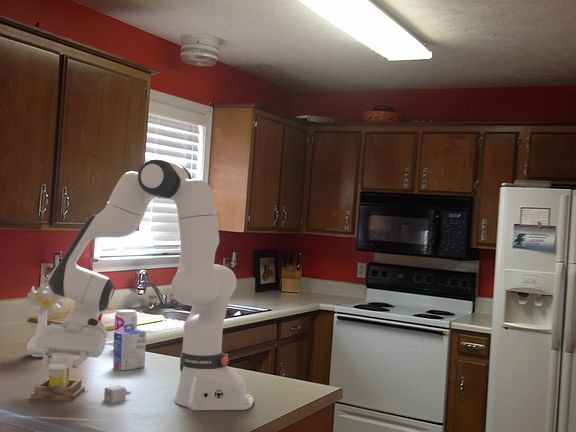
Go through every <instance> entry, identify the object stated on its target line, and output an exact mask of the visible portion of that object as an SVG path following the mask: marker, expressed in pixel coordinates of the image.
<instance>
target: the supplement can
mask: <svg viewBox="0 0 576 432" xmlns="http://www.w3.org/2000/svg"><path fill="white" fill-rule="evenodd" d="M129 324H133V327H134V330H138V312H137V310H135V309H129V308H128V309H127V308H125V309H117V310H116V312H115V314H114V332H113V334H114V333H117V332H125V330H124V325H129ZM126 329H132V327H130V326H128V327H126Z"/></svg>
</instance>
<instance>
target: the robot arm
mask: <svg viewBox="0 0 576 432" xmlns="http://www.w3.org/2000/svg"><path fill="white" fill-rule="evenodd" d="M116 183H117V184H116V185H115V186H114V188H113V190H112V192H111V193H110V197H109V199H108V201H107V203H106V205H105V207H104V208H103V209H102V210H101V212H99V213H98V214H92V215H91V216H90V217H88V219H87V220H86V221H85V223H84V224H83V225H82V227H81V228H80V230H79V231H78V232H77V235H76V236H75V238H74V239H73V241H72V242H71V244H70V246H69V247H68V249H67V250H66V252H65V253H64V255H63V257H62V258H61V260H59V262H58V264H57V265H56V266H55V267H54V269H53V270H52V271H51V273H50V275H49V278H48V281H47V282H48V286H49V287H50V288H51V290H52V292H53V293H54V294H55V295H59V296H62V297H64V298H67V299H68V298H69V299H71V300H74V302H73V306H72V308H70V309H71V310H70V311H69V310H68V312H69V313H68V314H67V315H66V317H65V319H64V321H63V323H54V322H53V323H51V324H47V326H45V328H44V330H43V331H42V332H41V334H40V335H39V337H38V338H37V340H36V341H35V346H36V348H37V349H38V351H39V352H43V356H44V357H42V359H41V364H42V365H43V366H50V364H51V362H52V359H50V357H49V356H48V355H50V356H51V354H55V355H67V356H68V355H69V356H77V357H78V356H79V357H78V358H77V359H74V360H73V361H72V362H71V367H72V368H73V369H79V368H80V366H81V364H83V363H84V362H86V360H88V357H89V358H99V357H100V356H102V355H103V352H104V350H105V347H106V343H107V340H106V339H107V338H108V335H109V334H108V330H107V328H106V327H105V325H104V323H103V321H102V320H101V321H99V320H98V316H99V315H100V314H101V313H102V314H103V311H105V310H107V309H108V306H109V304H110V302H111V300H112V298H113V296H114V294H115V290H116V289H115V285H114V283H113V280H112V279H111V278H109V277H107V276H105V275H103V274H100V273H98V272H95V271H92V270H89V269H88V268H84V267H81V266H79V265H78V264H77V262H78V261H79V258H80V257H81V256H82V254H83V252H84V251H85V249H86V248H87V246H88V244H90V242H91V241H92V240H94V239H97V238H98V239H99V238H123V237H127V236H131V235H132V234H134V233H135V232H137V230H138V228H139V227H140V224H141V223H142V221H143V218H144V216H145V213H146V211H147V208H148V206H149V204H150V202H152V201H153V200H154V199H156V198H158V199H165V200H172V201H173V202H174V203H175V206H176V211H177V220H178V221H177V222H178V230H179V231H178V232H179V240H180V241H179V242H180V254H179V261H178V267H177V271H176V274H174V276H173V279H172V280H171V285H170V287H171V293H172V296H173V297H174V299H175V300H176V301H177V302H178V303H180V304H181V305H186V306H191V309H190V312H189V315H188V317H187V318H186V320H185V321H184V324H183V335H182V338H183V339H182V350H181V352H180V356H179V357H180V358H179V359H180V360H179V371H180V376H179V381H178V387H177V390H176V394H175V397H174V401H173V402H175V403H176V404H178V405H179V406H183V407H186V408H187V409H190V410H192V411H246V410H249V409H251V408H252V407H253V405H254V398H253V396H252V395H251V394H249V393H247V387H246V383H245V380H244V378H242V377H241V375H239V374H238V373H237V372H235V371H234V370H233V369H232V368H231V367H229V366H228V365H229V361H230V360H229V355H228V353H224V352H223V351H222V345H223V331H224V329H223V328H224V323H225V318H226V314H227V311H228V307H229V303H230V299H231V296H232V295H233V293H234V292H235V290H236V288H237V278H236V274H235V272H234V271H233V270H232V269H231V268H229V267H227V266H225V265H221V264H218V263H217V264H215V257H216V256H215V255H216V252H217V249H218V246H219V244H220V232H219V224H218V217H217V209H216V203H215V199H214V195H213V192H212V189H211V186H210V185H209V183H207V181H205V180H203V179H199V178H192V175H191V174H190V172H189V170H188V169H187V168H186V167H184V166H182V165H180V164H178V163H176V162H174V161H172V160H169V159H163V158H158V157H157V158H152V159H148V160H146V161H144V162H143V163H142V165H141V166H140V167H139V169H138V171H128V172H126V173H124V174H123V175H121V177H120V178H119V180H118V181H117V182H116Z"/></svg>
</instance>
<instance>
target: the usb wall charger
mask: <svg viewBox="0 0 576 432" xmlns="http://www.w3.org/2000/svg"><path fill="white" fill-rule="evenodd" d="M103 392H104V395H103V396H104V397H103V400H104V401H105V402H108V403H111V404H113V403H119V402H124V401H126V400H127V399H126V396H127V395H128V396H129V395H132V391H131V390H130V391H128V389H126V387H125V386H122V385H114V386H109V387H105V388H104V391H103Z"/></svg>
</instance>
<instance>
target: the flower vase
mask: <svg viewBox="0 0 576 432" xmlns="http://www.w3.org/2000/svg"><path fill="white" fill-rule="evenodd" d="M64 300H65V297H63V296H59V295H55V294H54V293H53V292H52V290H51V288H50V286H49V287H46V285H45V284H43V283H41V284H40V286H39V287H37V289H36V290H35V287H34V285H32V287H31V290H30V291H29V292H28V293H27V295H26V297H25V302H24V303H23V305H26V304H27V303H28V304H27V306H28V307H32V306H34V305H35V306H37V310H38V311H37V313H38V314H37V325H36V326H37V327H36V331H35V334H34V335H33V337H32V338H31V339H30V340H29V341H28V343H27V345H26V347H27V350H28V352H29V353H30V354H31V357H33V356H34V358H44V356H43V352H39V351H38V349H37V348H36V346H35V341H36V340H37V338H38V337H39V335H40V334H41V332H42V331H43V330H44V328H45V326H47V325H48V313H49V314H52V315H53V314H54V313H55V310H54V308H53V306H56V307H57V308H61V307H62V306H63V302H62V301H64ZM49 356H51V354H50V355H48V357H49Z"/></svg>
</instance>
